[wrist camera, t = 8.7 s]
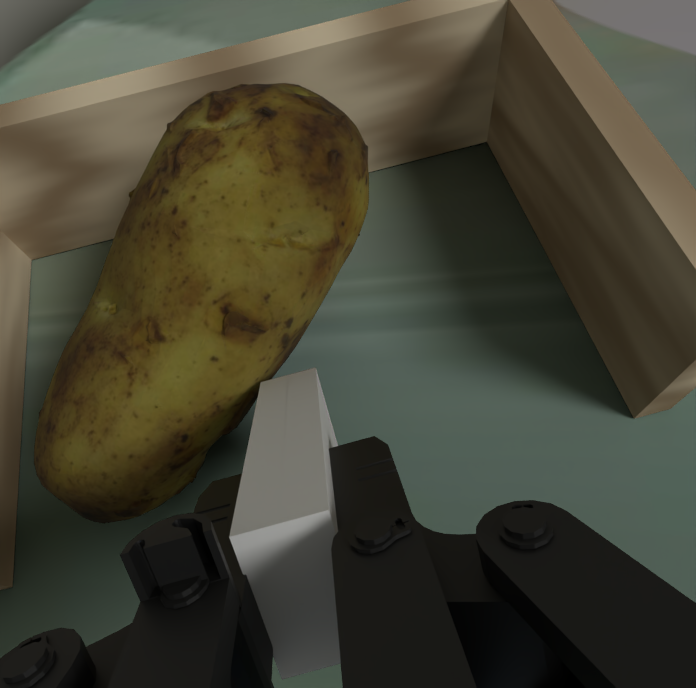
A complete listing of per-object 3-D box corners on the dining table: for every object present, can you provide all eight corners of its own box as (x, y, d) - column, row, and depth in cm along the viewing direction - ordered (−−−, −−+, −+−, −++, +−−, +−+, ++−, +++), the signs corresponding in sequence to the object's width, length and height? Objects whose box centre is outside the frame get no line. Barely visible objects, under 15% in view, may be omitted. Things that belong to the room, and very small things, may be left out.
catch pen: (-26, 597, 17) (-231, 582, 11) (5, 245, 23) (-114, 133, 18) (670, 408, 17) (785, 309, 12) (503, 116, 24) (528, -30, 18)
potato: (41, 387, 20) (-164, 236, 13) (320, 206, 23) (266, 7, 16) (129, 577, 16) (-106, 493, 9) (458, 324, 19) (463, 120, 12)
